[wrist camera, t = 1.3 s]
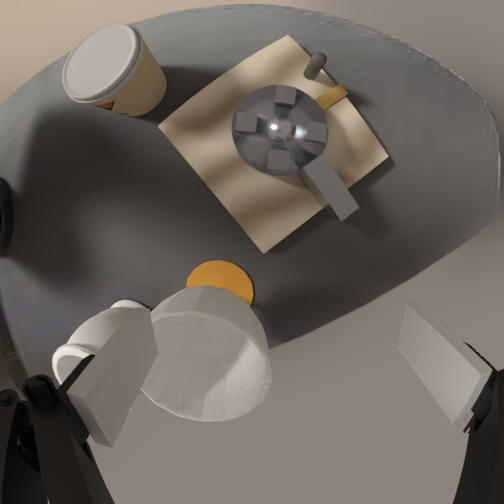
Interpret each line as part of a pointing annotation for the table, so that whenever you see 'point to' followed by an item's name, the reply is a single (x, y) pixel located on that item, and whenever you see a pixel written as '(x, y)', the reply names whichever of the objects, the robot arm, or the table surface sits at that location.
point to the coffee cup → (114, 71)
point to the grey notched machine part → (290, 143)
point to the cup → (209, 347)
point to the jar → (90, 337)
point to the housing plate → (248, 179)
